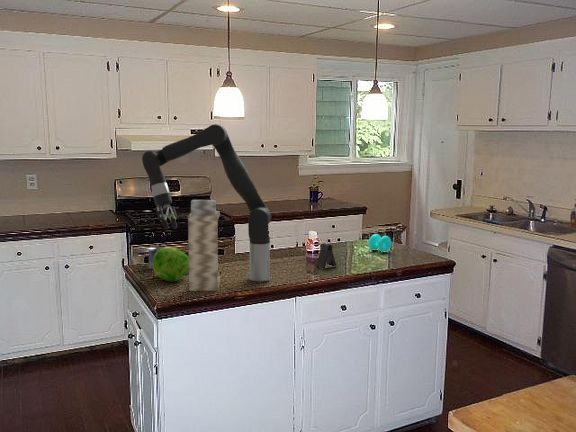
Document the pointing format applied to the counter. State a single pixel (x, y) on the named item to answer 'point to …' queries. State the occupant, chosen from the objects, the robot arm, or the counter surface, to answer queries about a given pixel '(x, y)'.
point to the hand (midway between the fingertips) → (170, 228)
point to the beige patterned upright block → (203, 252)
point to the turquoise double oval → (380, 242)
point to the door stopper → (325, 256)
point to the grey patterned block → (203, 207)
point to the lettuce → (170, 264)
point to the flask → (151, 255)
